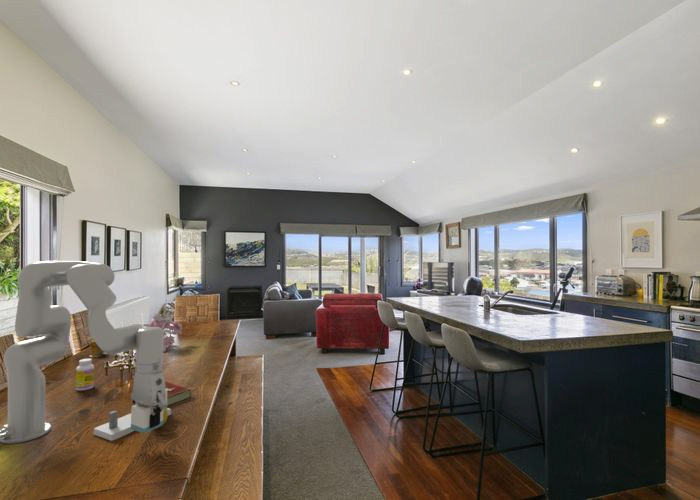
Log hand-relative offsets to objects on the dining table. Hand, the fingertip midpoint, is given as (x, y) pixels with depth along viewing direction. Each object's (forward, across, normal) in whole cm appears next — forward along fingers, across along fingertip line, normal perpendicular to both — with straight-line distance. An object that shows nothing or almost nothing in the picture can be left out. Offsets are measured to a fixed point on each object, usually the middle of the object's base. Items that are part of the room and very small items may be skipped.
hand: (147, 423), depth 115 cm
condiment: (+10, +122, -55) cm, 134 cm away
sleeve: (+1, 0, 0) cm, 1 cm away
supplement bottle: (+9, +71, -20) cm, 75 cm away
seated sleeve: (+6, +18, -16) cm, 25 cm away
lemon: (+8, +8, -10) cm, 15 cm away
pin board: (+8, +18, -8) cm, 21 cm away
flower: (+10, +100, -83) cm, 131 cm away
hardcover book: (+9, +31, -30) cm, 44 cm away
